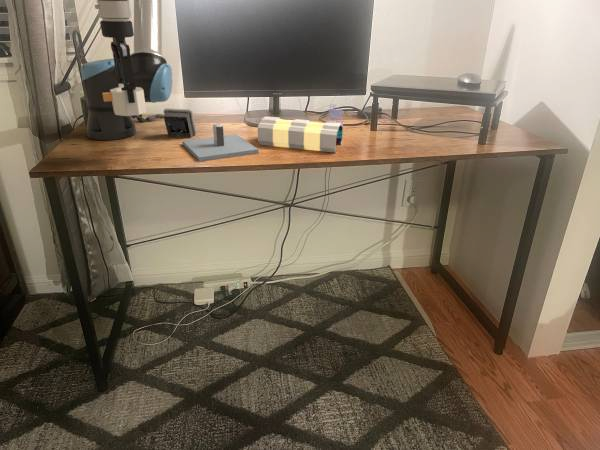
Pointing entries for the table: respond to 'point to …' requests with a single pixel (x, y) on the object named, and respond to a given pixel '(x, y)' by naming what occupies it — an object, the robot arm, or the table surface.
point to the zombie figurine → (147, 117)
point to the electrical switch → (179, 123)
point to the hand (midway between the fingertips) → (130, 110)
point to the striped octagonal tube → (302, 133)
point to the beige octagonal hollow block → (119, 100)
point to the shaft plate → (219, 146)
